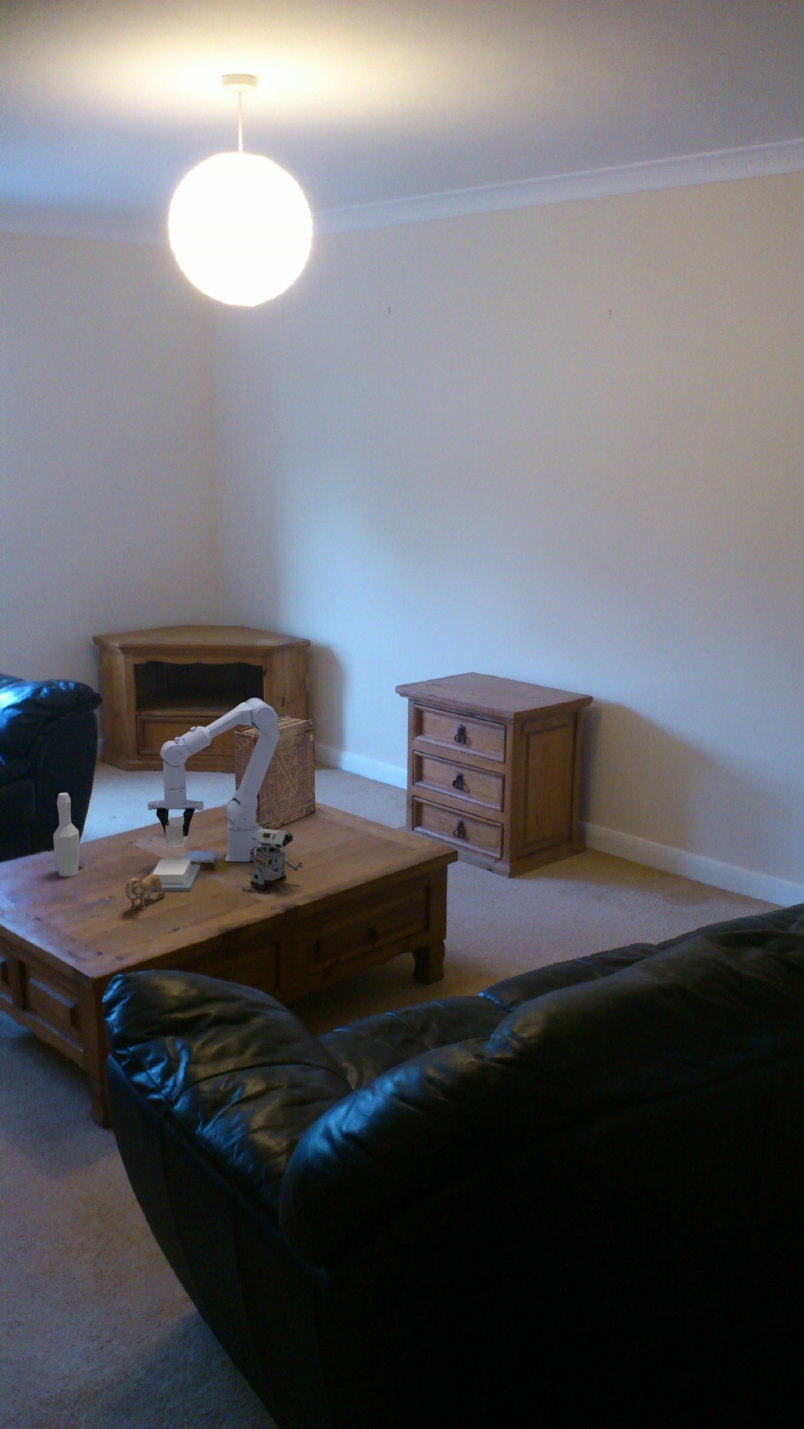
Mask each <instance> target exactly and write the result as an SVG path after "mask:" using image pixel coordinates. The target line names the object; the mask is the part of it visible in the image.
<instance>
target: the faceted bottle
mask: <svg viewBox="0 0 804 1429" xmlns="http://www.w3.org/2000/svg"><path fill="white" fill-rule="evenodd" d="M71 800H72V799H71V796H70V795H69V793H68V792H61V793H59V794H58V796H57V801H56V805H57V810H58V819H59V820H58V822H59V825H58V827H57V828H56V830H55V832H53V834H52V836H53V848H54V849H53V850H54V855H55V859H56V865H57V870H58V875H59V876H60V877H65V878H67V877H68V878H69V877H73V876H76V875H78V873H79V862H80V849H81V848H80V846H81V845H80V844H81V843H80V831H79V829H78V828H76V827H75V825H74V824H73V823H72V817H71V816H72V815H71V809H72V808H71V807H72V806H71V805H72V803H71V802H72V801H71Z"/></svg>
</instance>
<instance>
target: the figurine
mask: <svg viewBox="0 0 804 1429" xmlns="http://www.w3.org/2000/svg"><path fill="white" fill-rule="evenodd" d="M251 838H252V840H257V842H258V843H259V844H260V845H261V846H262V847H259V848H257V847H254V848H256V855H254V849H251V851H250V859H249V861H248V862H249V863H250V862H251V863H252V862H254V864H253V869H252V871H251V875H250V877H251V878H250V879H251V880H250V883H249V885H250V886H252V887H254V888H257V889H259V890H264V889H266V883H265V881H275V880H279V881H282V882H283V881H286V880H287V874H286V868H285V865H287V867H288V868H291V869H292V870H293V871H295V872H297V871H298V870H299V868H303V863H302V862H301V861H300V862H299V864H297V865H295V864H293V863H292V862H291V861H289V859H288V858H286V854H287V853H286V850H285V849H284V848H286V847H287V846H289V845H290V844H291V843H292V842H294V834H293V833H291V831H290V830H288V829H287V830H280V829H274V830H272V829H261V828H260V829H258V830H257V831H255V832H254V833H253V834H252V835H251ZM253 860H254V861H253Z"/></svg>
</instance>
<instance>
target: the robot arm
mask: <svg viewBox="0 0 804 1429" xmlns="http://www.w3.org/2000/svg"><path fill="white" fill-rule="evenodd" d="M278 718H279V716H278V714H277V712H276V711H275V709H274V708H273V706H271V705H269V704H267V703H265V702H264V701H263V700H262V699H261V698H257V697H252V698H249V699H248V700H246V701H243V702H241V703H240V704H238V705H237V706H236V707H235V708H233V709H231V710H230V711H229V712H227V713H226V714H224V715H222V716H221V717H220V718H218V719H216V720H215V721H213V722H212V723H210V724H209V725H207V726H206V727H205V726H199V725H198V726H197V727H196V726H192V727H191V728H190V731H187V732H186V733H185V734H182V735H181V736H176V737H174V740H168V741H166V742H164V743H163V744H162V746H161V749H160V751H159V755H160V758H161V759H162V760H163V761H162V763H163V767H162V768H163V770H162V778H163V798H164V799H161V800H160V799H159V800H149V801H148V802H147V810H148V811H152V810H156V813H155V815H156V817H157V819H158V820H159V822H160V824H161V827H162V828H163V832H164V836H165V837H166V827H165V826H166V824H167V822H168V821H169V819H170V818H169V816H170V815H169V812H170V810H184V811H183V813H182V817H184V835H185V836H188V837H189V834H190V833H189V832H190V826H191V822H192V819H193V816H194V814H195V812H196V811H197V810H198V811H203V810H204V809H205V807H204V806H205V805H204V804H205V802H204V800H202V801H200V800H192V799H187V783H186V782H187V780H186V779H187V778H186V769H185V768H186V767H185V763H186V762H187V760H188V758H189V757H191V756H192V755H195V754H197V753H198V752H200V751H202V750H203V749H205V748H206V747H209V746H210V745H211V743H212V739H213V738H215V737H217V736H219V735H221V734H223V733H225V732H227V731H229V730H231V729H233V728H234V727H237V726H238V725H242V726H248V727H251V726H254V727H255V729H256V731H257V733H258V735H259V738H258V740H257V743H256V745H255V748H254V751H253V753H252V756H251V759H250V761H249V764H248V766H247V769H246V772H245V774H244V777H243V780H242V782H241V785H240V787H239V789H238V790H237V791H236V790H235V792H234V793H233V794H232V797H231V799H230V800H228V802H226V803H225V806H224V814H225V816H226V818H227V819H228V822H227V830H226V831H227V854H226V856H225V858H224V861H225V862H250V861H249V859H250V851H251V849H254V855H256V848H254V847H257V848H259V847H262V846H261V845H260V844H259V843H258V842H257V840H252V838H251V835H252V834H253V833H254V832H255V831H257V830H258V829H260V828H261V829H262V827H261V826H256V825H254V823H255V821H256V809H257V795H258V792H259V789H260V787H261V784H262V782H263V779H264V776H265V774H266V771H267V769H268V766H269V763H270V761H271V758H272V755H273V753H274V750H275V748H276V745H277V742H278V740H279V736H280V734H279V728H278V721H277V720H278ZM253 862H255V861H254V860H253Z"/></svg>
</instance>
